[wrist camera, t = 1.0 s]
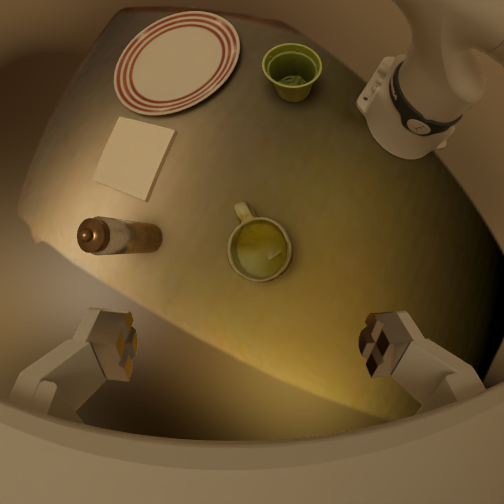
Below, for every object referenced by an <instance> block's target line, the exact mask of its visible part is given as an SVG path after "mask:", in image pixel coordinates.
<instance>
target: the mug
mask: <svg viewBox="0 0 504 504" xmlns="http://www.w3.org/2000/svg"><path fill="white" fill-rule="evenodd" d="M234 208H235V212H236V215H237V218H238V219H239V220H240V225H238V226H237V227H236V228H235V229H234V230H233V231H232V233H231V235H230V237H229V240H228V244H227V257H228V260H229V263H230V265H231V267H232V269H233V270H234V271H235V272H236V273H237V274H239V275H240V276H242V277H243V278H245V279H247V280H250V281H254V282H268V281H271V280H274V279H275V278H277V277H278V276H280V275H281V274H283V273H284V272H285V271H286V270H287V268H288V267H289V265H290V264H291V261H292V256H293V249H292V243H291V240H290V237H289V235H288V233H287V231H286V230H285V228H284V227H283V226H282V225H281V224H279V223H278V222H276V221H274V220H272V219H270V218H265V217H257V216H256V214H255V212H254V210H253V209H252V208H251V207H250V205H249V204H248V203H247V202H239V203H237V204H235V205H234Z"/></svg>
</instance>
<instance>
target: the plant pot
mask: <svg viewBox="0 0 504 504" xmlns="http://www.w3.org/2000/svg"><path fill="white" fill-rule="evenodd" d="M262 68H263V71H264V73H265V75H266V76H267V78H268V79H269V80H270V81H272V82H273V84H274V86H275V89H276V91H277V93H278V95H279V96H280V97H281V98H282V99H284V100H286V101H289V102H299V101H302V100H304V99H305V98H306V97H307V96H308V95H309V93H310V90H311V87H312V84H313V82H314V81H316V80H317V78H318V77H319V76H320V74H321V70H322V63H321V60H320V58H319V56H318V55H317V54H316V53H315V52H314V51H313V50H312V49H310V48H308V47H306V46H304V45H301V44H293V43H287V44H282V45H278V46H276V47H274V48H272V49H271V50H269V51H268V52H267V54H266V55H265V56H264V58H263V62H262ZM288 78H292V79H290V80H286V81H285V79H288ZM304 83H305V84H304Z"/></svg>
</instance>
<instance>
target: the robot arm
mask: <svg viewBox="0 0 504 504" xmlns="http://www.w3.org/2000/svg"><path fill="white" fill-rule="evenodd" d="M392 1H393V2H394V3H395V4H396V6H397V7H398V8H399V9H400V10H401V12H402V13H403V15H404V16H405V18H406V19H407V22H408V24H409V26H410V29H411V33H412V42H411V46H410V48H409V51H408V54H407V55H405V54H400V55H397V56H396V57H384V59H383V60H382V62H381V63H380V65H379V66H378V68H377V69H376V71H375V72H374V74H373V76H372V77H371V79H370V80H369V82H368V83H367V85H366V87H365V88H364V90H363V91H362V93H361V94H360V96H359V97H358V99H357V101H356V106H357V108H358V110H359V111H360V112H361V113H362V114H363V116H364V117H365V119H366V121H367V124H368V127H369V130H370V132H371V134H372V135H373V137H374V138H375V140H376V141H377V142H378V143H379V144H380V145H381V146H382V147H383V148H384V149H385V150H386V151H388V152H389V153H391V154H393V155H395V156H397V157H400V158H403V159H418V158H421V157H423V156H425V155H427V154H428V153H429V152H431V151H433V150H441V149H443V148H444V147H445V146H446V141H447V138H448V137H449V136H450V135H451V134H452V133H453V132H454V130H455V127H454V125H456V124H457V122H458V121H459V120H460V119H461V117H462V115H463V113H465V112H466V111H467V110H468V109H470V108H471V107H472V106H473V105H475V104H476V103H477V102H478V101H479V100H480V99H481V98H482V96H483V94H484V92H485V88H486V75H485V71H484V68H483V65H482V63H481V61H480V59H479V57H478V55H477V53H476V52H475V51H474V49H477V50H479V51H481V52H484V53H485V54H487V55H488V56H489V57H491V58H492V59H494V60H495V61H497V62H498V63H499V64H501V65H502V66H503V67H504V0H392ZM364 98H365V99H367V101H365V100H364ZM132 323H133V318H132V313H131V312H129V311H121V310H112V309H100V308H92V307H91V308H89V309H87V311H86V313H85V315H84V317H83V319H82V321H81V323H80V325H79V327H78V329H77V331H76V333H75V335H74V337H73V339H72V340H69V339H68V340H67V341H65V342H64V343H62V344H61V345H59V346H58V347H57V348H55V349H54V350H52V351H51V352H49V353H48V354H46V355H45V356H43V357H42V358H40V359H39V360H38V361H36V362H35V363H33V364H32V365H30V366H29V367H28V368H26V369H25V370H23V371H22V372H20V375H19V377H18V379H17V381H16V383H15V385H14V388H13V389H12V391H11V394H10V396H9V398H8V400H5V399H2V398H0V504H504V382H501V383H499V384H497V385H495V386H493V387H491V388H489V389H485V387H484V385H483V383H482V382H481V380H480V378H479V377H478V375H477V374H476V372H475V370H474V369H473V367H472V366H470V365H469V364H467V363H466V362H464V361H462V360H461V359H459V358H458V357H456V356H455V355H453V354H451V353H450V352H448V351H447V350H445V349H443V348H442V347H440V346H439V345H437V344H436V343H434V342H432V341H431V340H429V339H425V338H424V337H423V335H422V334H421V332H420V330H419V329H418V327H417V326H416V324H415V323H414V321H413V320H412V318H411V317H410V315H409V314H408V312H406V311H405V310H404V311H394V312H382V313H370V314H369V315H368V316H367V318H366V321H365V323H366V325H367V326H366V327H365V328H364V329H363V330H362V331H361V333H360V336H359V350H360V352H361V355H362V356H363V357H365V358H366V359H367V362H366V367H367V369H368V371H369V374H370V376H371V378H376V377H384V376H391V377H392V378H393V379H394V380H395V381H396V382H397V383H398V384H399V385H401V386H402V387H403V388H404V389H405V390H406V391H407V392H408V393H409V394H410V395H412V396H413V397H414V398H415V399H416V400H417V401H418V402H419V403H420V404H421V405H423V406H422V407H421V408H420V409H419V411H418V412H417V413H416V415H414V416H411V417H407V418H404V419H400V420H396V421H392V422H388V423H384V424H380V425H375V426H371V427H366V428H361V429H356V430H350V431H345V432H339V433H332V434H325V435H318V436H310V437H301V438H291V439H278V440H260V441H202V440H201V441H199V440H184V439H172V438H162V437H152V436H145V435H137V434H130V433H124V432H118V431H113V430H108V429H103V428H98V427H93V426H88V425H84V424H83V422H82V421H81V420H80V418H79V417H78V416H77V414H76V413H75V411H76V410H77V409H78V408H79V407H80V406H81V405H82V404H83V403H84V402H85V401H86V400H87V399H88V398H89V397H90V396H91V395H92V394H93V393H94V392H95V391H96V390H97V389H98V388H99V387H100V386H101V385H102V384H103V383H104V382H105V381H106V379H111V380H120V381H129V379H130V375H131V371H132V367H133V366H132V362H131V359H133V358H134V357H135V355H136V352H137V342H138V341H137V333H136V330H135V329H134V328H133V327H132Z"/></svg>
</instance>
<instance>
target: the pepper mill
mask: <svg viewBox="0 0 504 504" xmlns="http://www.w3.org/2000/svg"><path fill="white" fill-rule="evenodd" d="M77 240H78V244H79V246H80V248H81V249H82V250H83V251H85V252H88V253H92V254H94V255H113V254H132V253H151V252H155V251H156V250H157V249H158V248H159V247H160V246H161V243H162V233H161V230H160V229H159V228H158V227H157V226H156V225H154V224H148V223H141V222H135V221H128V220H121V219H114V218H107V217H94V218H93V219H92V218H89V219H86V220H84V221H83V222H82V223H81V224H80V226H79V228H78V232H77Z"/></svg>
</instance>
